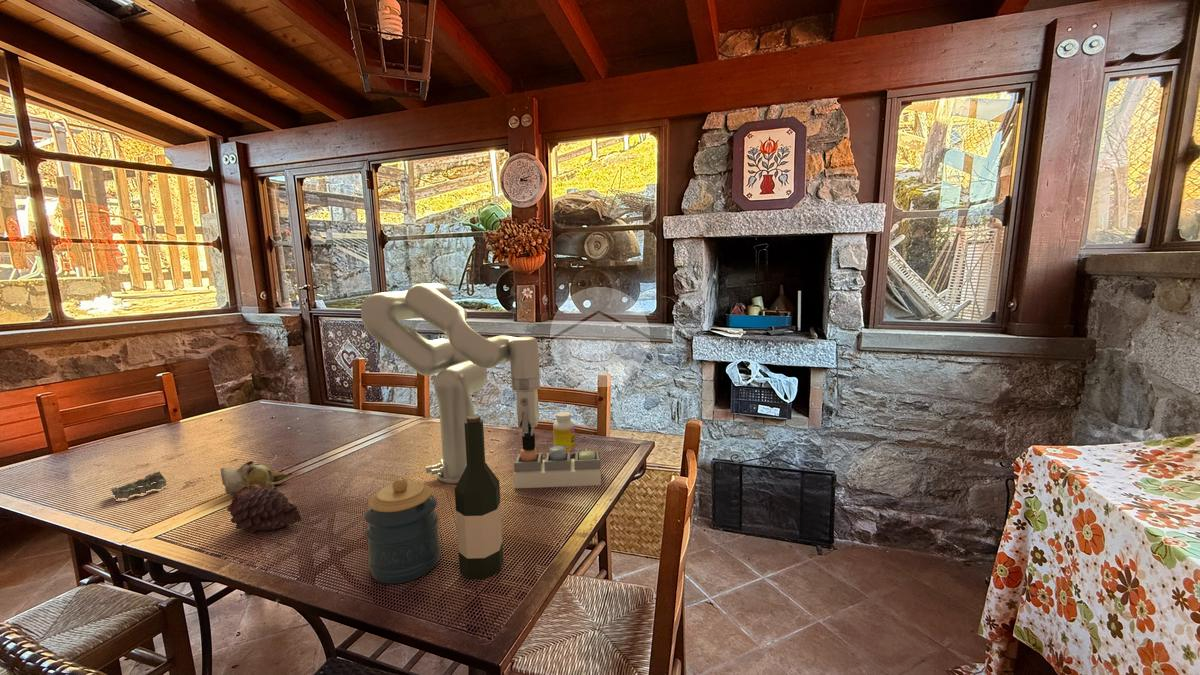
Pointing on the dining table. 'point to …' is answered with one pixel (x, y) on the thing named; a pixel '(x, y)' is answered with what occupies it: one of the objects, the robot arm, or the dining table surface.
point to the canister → (402, 532)
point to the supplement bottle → (564, 432)
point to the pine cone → (262, 509)
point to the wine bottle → (478, 509)
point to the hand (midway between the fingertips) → (529, 448)
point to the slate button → (557, 453)
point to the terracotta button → (528, 455)
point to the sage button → (586, 455)
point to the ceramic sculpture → (250, 477)
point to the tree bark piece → (146, 483)
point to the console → (557, 472)
